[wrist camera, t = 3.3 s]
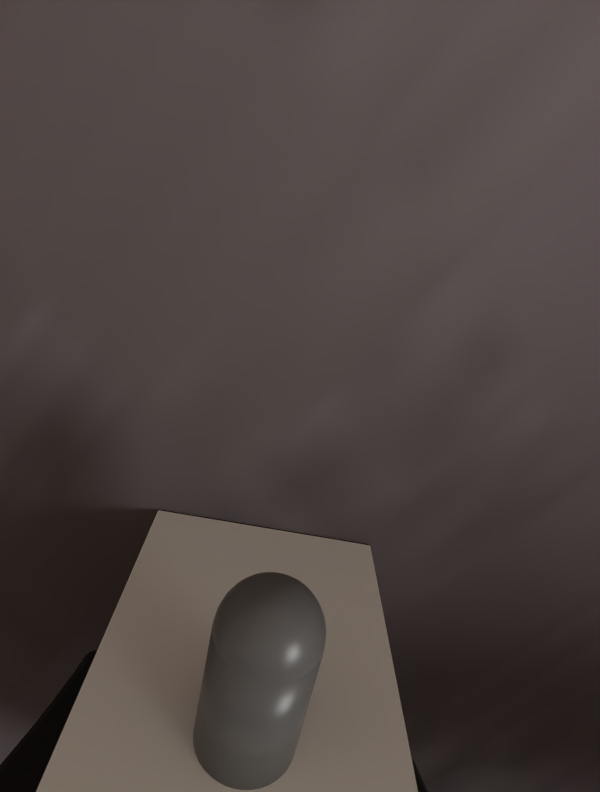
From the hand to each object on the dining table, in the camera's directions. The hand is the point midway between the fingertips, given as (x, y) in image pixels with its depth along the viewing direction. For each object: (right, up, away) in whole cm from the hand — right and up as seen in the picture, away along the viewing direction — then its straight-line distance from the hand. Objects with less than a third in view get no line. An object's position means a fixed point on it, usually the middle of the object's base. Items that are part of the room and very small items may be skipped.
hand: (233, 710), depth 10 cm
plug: (0, +1, +1) cm, 1 cm away
